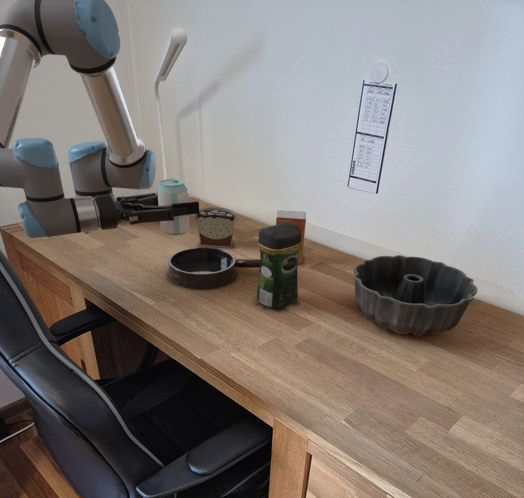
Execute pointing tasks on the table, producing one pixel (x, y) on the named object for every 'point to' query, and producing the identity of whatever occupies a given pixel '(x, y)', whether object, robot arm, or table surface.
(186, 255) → the skillet
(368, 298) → the bundt pan
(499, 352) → the table surface
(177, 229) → the can
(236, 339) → the table surface
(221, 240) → the food container
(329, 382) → the table surface
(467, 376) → the table surface
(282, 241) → the coffee jar
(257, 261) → the skillet handle
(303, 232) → the small box
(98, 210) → the robot arm
